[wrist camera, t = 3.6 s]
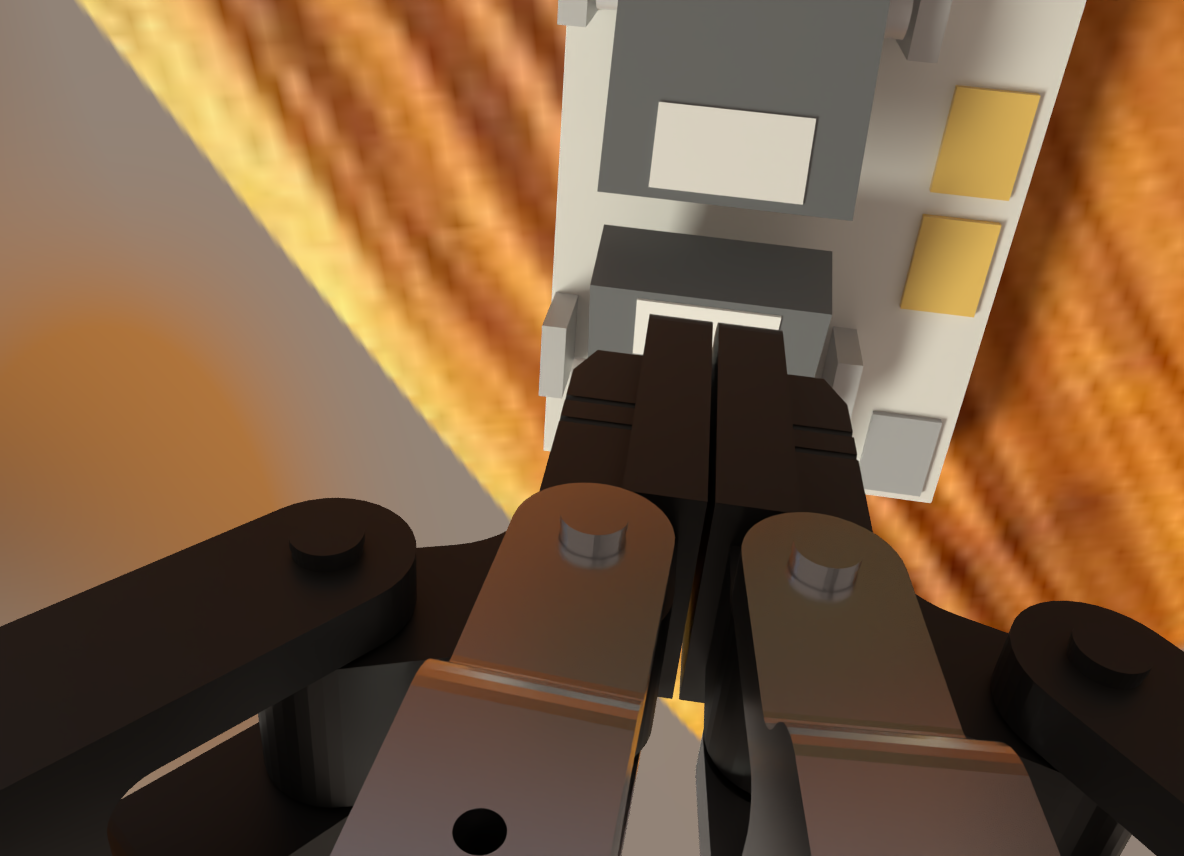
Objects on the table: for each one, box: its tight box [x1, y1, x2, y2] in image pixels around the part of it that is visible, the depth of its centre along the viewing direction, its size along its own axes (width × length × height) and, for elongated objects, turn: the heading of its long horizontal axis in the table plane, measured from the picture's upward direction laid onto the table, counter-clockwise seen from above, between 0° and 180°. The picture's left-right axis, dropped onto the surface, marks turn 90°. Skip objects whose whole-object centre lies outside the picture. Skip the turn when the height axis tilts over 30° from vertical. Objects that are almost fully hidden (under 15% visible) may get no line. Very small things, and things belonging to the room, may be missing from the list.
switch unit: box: [539, 0, 1086, 503], centre depth 25 cm, size 11×17×5 cm, turn 176°
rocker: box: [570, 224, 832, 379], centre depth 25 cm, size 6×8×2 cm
